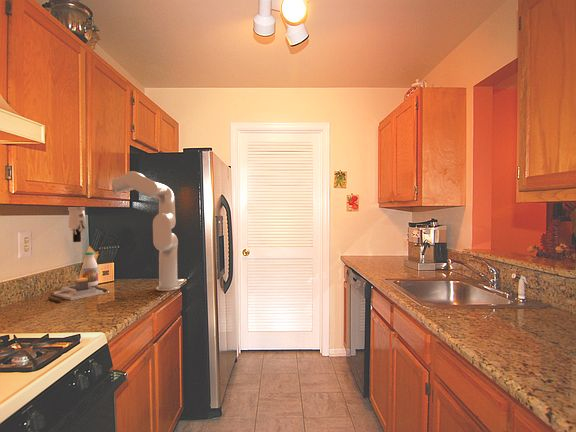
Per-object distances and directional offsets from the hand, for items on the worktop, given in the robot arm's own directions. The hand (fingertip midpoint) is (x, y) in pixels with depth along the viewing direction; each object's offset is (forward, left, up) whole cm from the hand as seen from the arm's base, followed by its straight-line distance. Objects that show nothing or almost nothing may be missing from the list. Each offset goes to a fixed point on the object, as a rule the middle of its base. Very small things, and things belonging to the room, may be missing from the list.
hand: (77, 241), depth 171 cm
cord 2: (-8, +8, -27) cm, 29 cm away
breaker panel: (+3, +8, -27) cm, 28 cm away
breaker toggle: (+3, +12, -25) cm, 28 cm away
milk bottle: (-10, -8, -27) cm, 30 cm away
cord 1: (+15, +12, -27) cm, 33 cm away
